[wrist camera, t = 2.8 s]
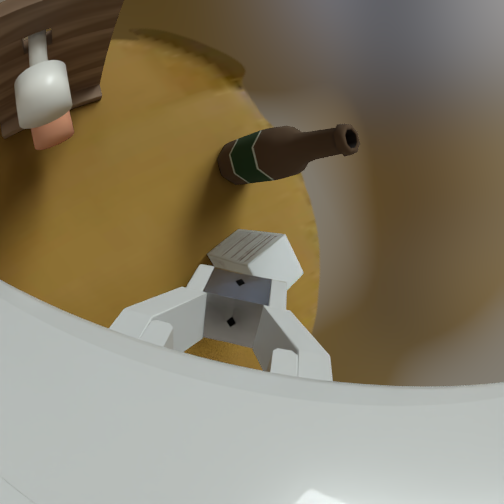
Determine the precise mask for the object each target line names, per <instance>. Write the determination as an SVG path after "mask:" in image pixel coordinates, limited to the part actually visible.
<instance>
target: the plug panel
mask: <svg viewBox="0 0 504 504" xmlns="http://www.w3.org/2000/svg"><path fill="white" fill-rule="evenodd" d="M123 1H124V0H5V1H3V2H1V3H0V124H1V131H2V137H3V138H4V139H6V138H8V137H10V136H12V135H14V134H16V133H18V132H20V131H22V130H24V129H23V128H21V127H20V126H19V121H18V114H17V106H16V98H15V87H14V84H15V81H16V79H17V78H18V76H19V75H20V74H21V73H22V72H23V71H25V70H26V69H28V68H29V67H30V66H29V46H28V39H26V40H24V38H25V37H27V36H30V35H32V34H35V33H38V32H40V31H43V30H46V29H49V28H51V29H52V30H51V31H48V32H46V44H47V56H48V60H59V61H62V62H64V63H65V65H66V70H67V76H68V82H69V88H70V94H71V99H72V107H71V109H73V108H76V107H79V106H82V105H85V104H88V103H91V102H94V101H97V100H100V99H101V98H102V93H101V89H100V79H101V75H102V71H103V66H104V62H105V58H106V55H107V51H108V47H109V44H110V40H111V37H112V33H113V30H114V27H115V24H116V21H117V18H118V15H119V12H120V10H121V7H122V4H123ZM71 109H70V110H71Z"/></svg>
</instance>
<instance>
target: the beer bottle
mask: <svg viewBox="0 0 504 504" xmlns="http://www.w3.org/2000/svg"><path fill="white" fill-rule="evenodd" d="M359 144H360V142H359V137H358V133H357V131H356V130H355V129H354V128H353V127H352V125H349V124H339V125H337V126H336V128H331V129H325V130H318V131H312V132H300V131H299V130H298V129H296V128H294V127H290V126H282V127H274V128H269V129H264V130H261V131H258V132H255V133H252V134H250V135H247V136H244V137H242V138H239V139H237V140H234V141H232V142H229V143H227V144H225V145H224V147H223V149H222V151H221V153H220V155H219V157H218V159H217V161H218V164H219V168H220V172H221V175H222V176H223V177H224V178H226V179H227V180H229V181H231V182H232V183H234V184H235V185H238V184H248V183H255V182H264V181H272V180H278V179H282V178H286V177H289V176H293V175H296V174H299V173H300V172H302V171H303V170H304V169H305V168H306V166H307V164H308V163H309V162H310V161H313V160H315V159H319V158H324V157H328V156H333V155H338V154H343V155H344V156H347V155H352V154H354V153H356V152H357V151H358V147H359Z"/></svg>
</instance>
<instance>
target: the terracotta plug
mask: <svg viewBox="0 0 504 504" xmlns="http://www.w3.org/2000/svg"><path fill="white" fill-rule="evenodd" d="M31 132H32V137H33V141H34V146H35V149H36V150H43V149H47V148H50V147H53V146H56V145H58V144H60V143H62V142H64V141H66V140H67V139H69V138H70V137H71V136H72V135H73V134H74V129H73V125H72V120H71V116H70V111H68V112H67V113H66V114H64V115H63V116H61V117H60V118H58V119H56V120H54V121H52V122H50V123H48V124H46V125H43V126H40V127H36V128H31Z"/></svg>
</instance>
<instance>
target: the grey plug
mask: <svg viewBox="0 0 504 504" xmlns="http://www.w3.org/2000/svg"><path fill="white" fill-rule="evenodd" d="M28 46H29V66H30V67H29V68H28V69H26V70H25V71H23V72H22V73H21V74H20V75H19V76H18V78H17V79H16V81H15V84H14V87H15V98H16V106H17V114H18V121H19V126H20V127H21V128H23V129H31V128H36V127H40V126H43V125H46V124H48V123H50V122H52V121H54V120H56V119H58V118H60V117H61V116H63V115H64V114H66V113H67V112H68V111H69V110H70V109H71V107H72V99H71V94H70V88H69V82H68V76H67V70H66V65H65V63H64V62H62V61H59V60H48V56H47V44H46V30H43V31H40V32H38V33H35V34H32V35H30V36H28Z"/></svg>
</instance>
